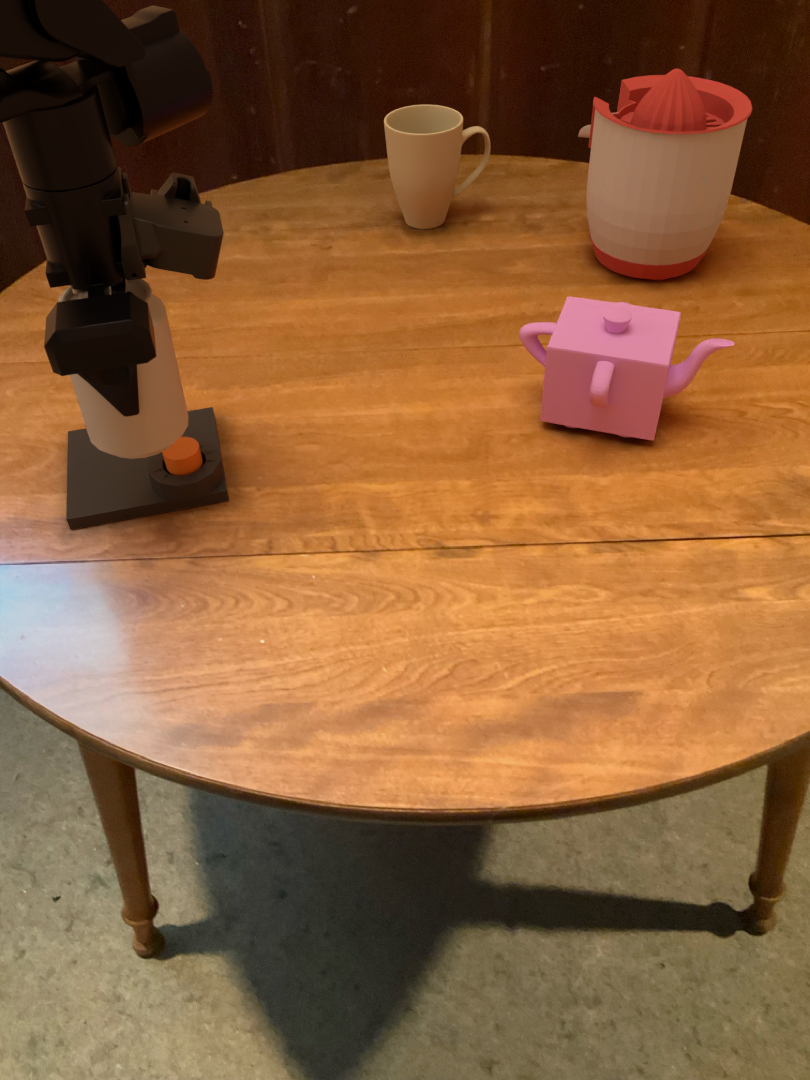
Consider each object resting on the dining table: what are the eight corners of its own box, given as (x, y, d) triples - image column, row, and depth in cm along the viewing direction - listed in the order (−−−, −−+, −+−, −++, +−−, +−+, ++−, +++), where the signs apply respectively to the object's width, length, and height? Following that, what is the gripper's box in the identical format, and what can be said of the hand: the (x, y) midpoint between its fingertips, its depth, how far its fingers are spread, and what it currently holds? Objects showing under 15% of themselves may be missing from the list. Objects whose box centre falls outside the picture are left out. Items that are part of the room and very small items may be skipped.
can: (180, 466, 68) (146, 322, 60) (78, 465, 68) (31, 321, 60) (199, 405, 73) (171, 266, 65) (105, 404, 73) (65, 265, 65)
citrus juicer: (606, 209, 114) (629, 31, 99) (740, 248, 106) (786, 60, 92) (537, 260, 105) (551, 73, 91) (678, 307, 97) (717, 109, 83)
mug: (437, 246, 108) (437, 142, 100) (373, 223, 113) (367, 122, 104) (491, 212, 114) (495, 111, 106) (428, 192, 119) (427, 93, 110)
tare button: (167, 479, 76) (163, 462, 74) (165, 456, 78) (161, 440, 77) (204, 472, 76) (200, 455, 75) (201, 450, 78) (197, 433, 77)
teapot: (719, 388, 87) (743, 291, 80) (704, 482, 77) (730, 381, 70) (530, 358, 91) (538, 264, 84) (495, 444, 82) (500, 345, 75)
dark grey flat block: (70, 533, 75) (59, 506, 73) (71, 441, 84) (61, 415, 82) (229, 504, 77) (223, 477, 75) (214, 417, 86) (209, 390, 84)
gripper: (215, 221, 51) (255, 442, 62) (191, 103, 64) (228, 303, 75) (7, 249, 50) (86, 471, 61) (26, 122, 63) (88, 324, 74)
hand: (130, 383), depth 67 cm, fingers closed on can, 7 cm apart
